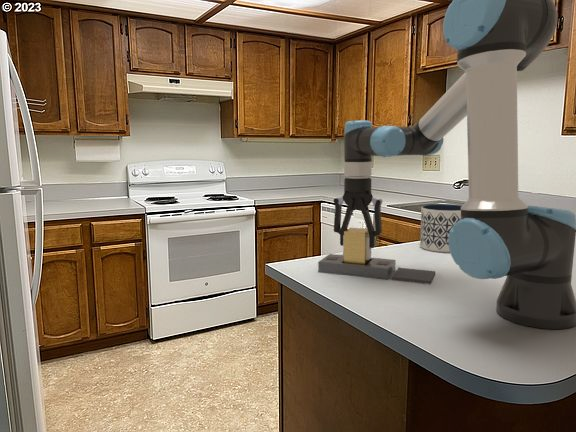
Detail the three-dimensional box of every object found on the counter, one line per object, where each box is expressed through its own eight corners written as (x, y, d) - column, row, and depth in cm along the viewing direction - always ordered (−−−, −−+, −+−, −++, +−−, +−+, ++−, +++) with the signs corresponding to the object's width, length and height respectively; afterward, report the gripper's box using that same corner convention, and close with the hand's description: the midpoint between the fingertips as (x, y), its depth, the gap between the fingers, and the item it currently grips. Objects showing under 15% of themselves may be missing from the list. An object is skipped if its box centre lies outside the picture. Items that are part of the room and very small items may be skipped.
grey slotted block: (395, 269, 130) (395, 259, 130) (387, 279, 121) (388, 268, 121) (329, 263, 138) (329, 253, 138) (318, 271, 129) (318, 261, 129)
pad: (430, 284, 117) (430, 281, 116) (391, 279, 121) (391, 276, 121) (435, 273, 125) (435, 271, 125) (398, 270, 130) (398, 267, 130)
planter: (446, 241, 167) (448, 203, 164) (478, 250, 152) (481, 208, 150) (410, 245, 161) (411, 205, 159) (440, 255, 146) (442, 211, 144)
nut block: (364, 274, 126) (365, 232, 124) (343, 272, 128) (344, 231, 126) (369, 269, 131) (370, 228, 129) (350, 267, 134) (350, 227, 132)
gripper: (394, 176, 125) (393, 257, 128) (329, 175, 133) (330, 252, 136) (389, 178, 118) (387, 264, 122) (321, 177, 126) (321, 257, 130)
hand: (357, 257), depth 129 cm, fingers closed on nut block, 6 cm apart
